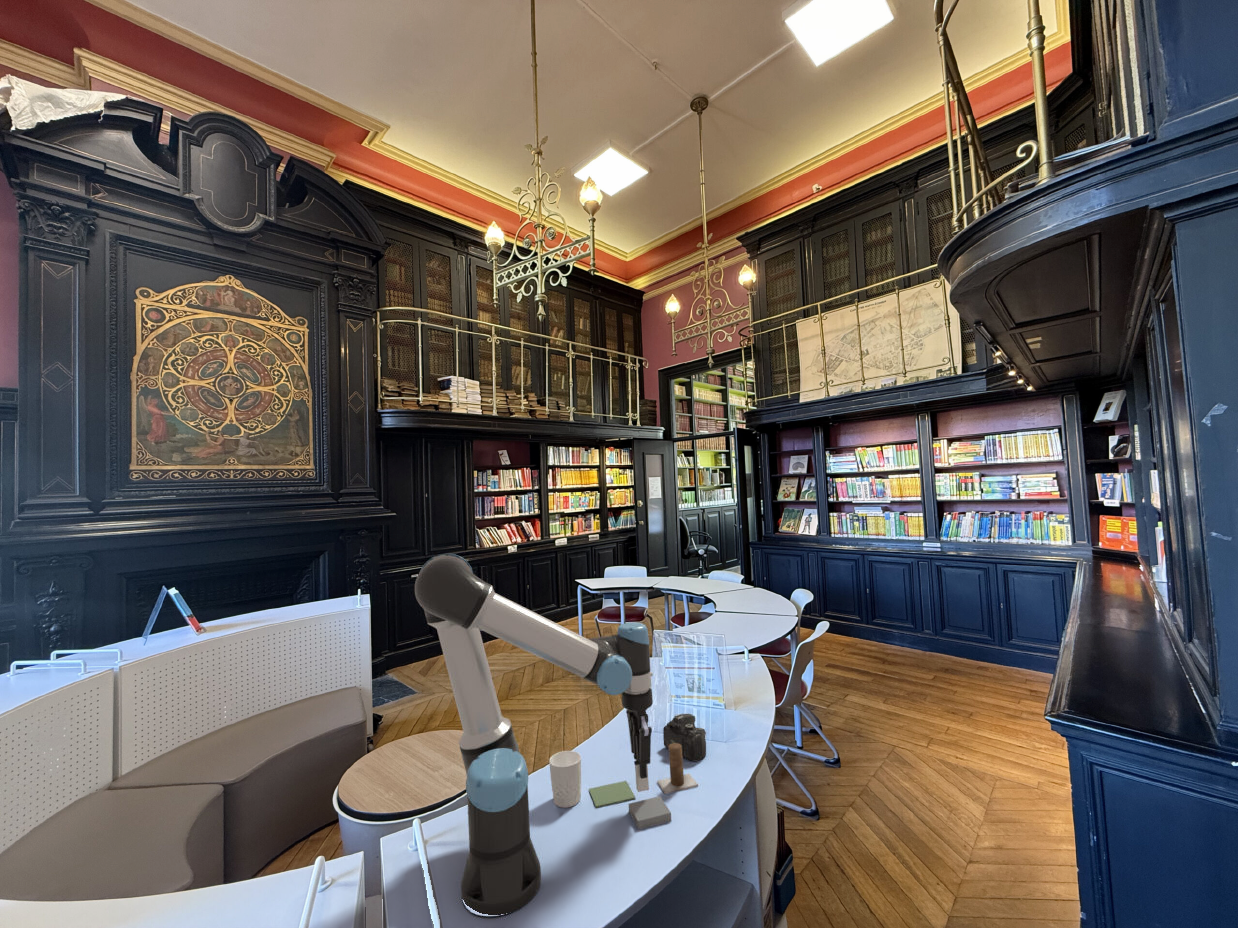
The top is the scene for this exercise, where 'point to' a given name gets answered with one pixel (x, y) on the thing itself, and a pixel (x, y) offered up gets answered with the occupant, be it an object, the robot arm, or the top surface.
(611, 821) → the top surface
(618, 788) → the pad
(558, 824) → the top surface
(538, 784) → the top surface
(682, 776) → the wooden handled stamp
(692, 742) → the camera
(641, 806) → the tile
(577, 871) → the top surface
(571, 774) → the white cup
